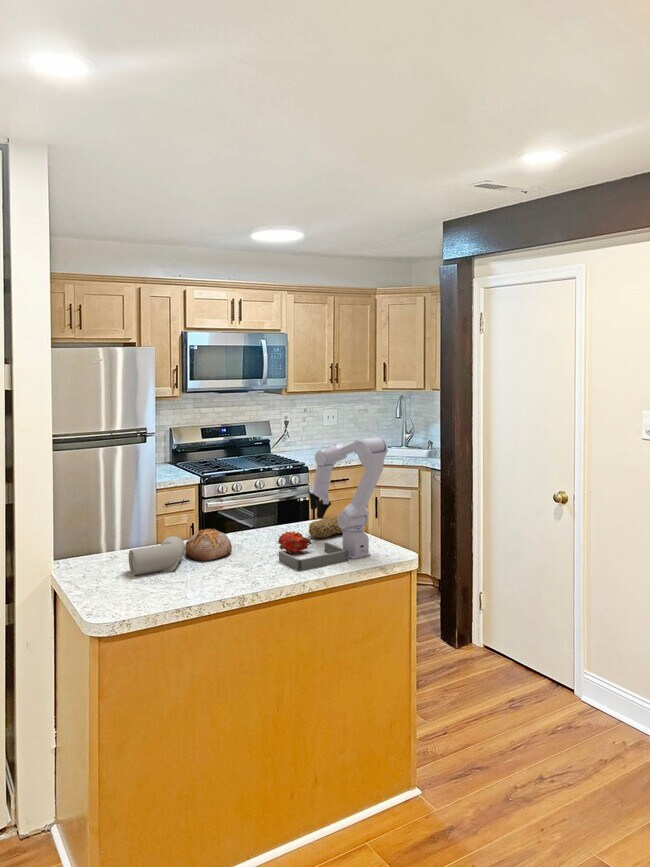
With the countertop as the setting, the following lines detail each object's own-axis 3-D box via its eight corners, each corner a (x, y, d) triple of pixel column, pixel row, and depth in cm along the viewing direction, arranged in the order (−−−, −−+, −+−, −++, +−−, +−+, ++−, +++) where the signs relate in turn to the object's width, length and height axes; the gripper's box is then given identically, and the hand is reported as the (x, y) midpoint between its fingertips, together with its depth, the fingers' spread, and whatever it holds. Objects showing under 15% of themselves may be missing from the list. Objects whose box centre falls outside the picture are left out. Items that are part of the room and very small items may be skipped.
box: (348, 560, 242) (348, 550, 242) (298, 571, 231) (298, 560, 231) (326, 551, 253) (326, 542, 252) (278, 561, 242) (278, 551, 241)
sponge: (344, 531, 286) (299, 526, 277) (349, 513, 284) (304, 507, 276) (357, 545, 274) (310, 540, 266) (363, 526, 272) (315, 521, 264)
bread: (184, 566, 241) (181, 538, 239) (187, 549, 260) (185, 523, 259) (232, 561, 243) (229, 533, 241) (232, 545, 262) (229, 519, 261)
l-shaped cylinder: (181, 574, 226) (191, 555, 246) (173, 543, 224) (184, 526, 244) (128, 586, 226) (142, 567, 246) (119, 555, 224) (134, 538, 244)
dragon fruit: (275, 555, 253) (308, 560, 253) (275, 548, 246) (309, 553, 246) (279, 533, 257) (312, 538, 257) (279, 525, 250) (312, 530, 250)
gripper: (306, 472, 265) (300, 504, 269) (318, 488, 252) (312, 522, 257) (323, 472, 268) (318, 504, 272) (336, 488, 255) (330, 521, 259)
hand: (316, 513), depth 265 cm, fingers open, 7 cm apart
